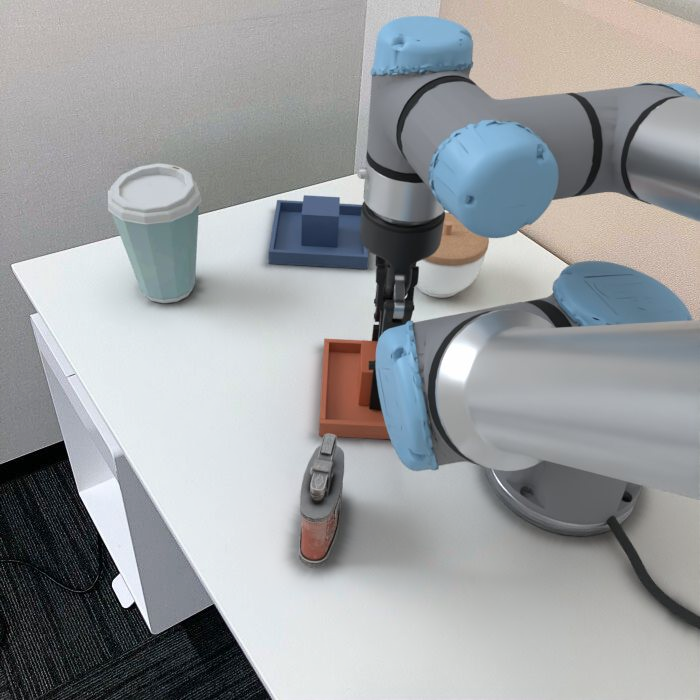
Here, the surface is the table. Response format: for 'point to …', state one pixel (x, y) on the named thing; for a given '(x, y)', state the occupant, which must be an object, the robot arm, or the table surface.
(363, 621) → the table surface
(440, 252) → the trinket box
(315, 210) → the slate block
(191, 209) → the disposable coffee cup
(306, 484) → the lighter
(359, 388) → the terracotta block
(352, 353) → the terracotta tray
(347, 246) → the slate tray
